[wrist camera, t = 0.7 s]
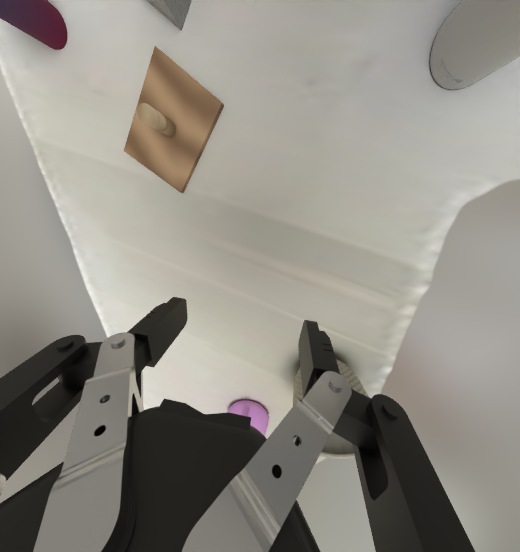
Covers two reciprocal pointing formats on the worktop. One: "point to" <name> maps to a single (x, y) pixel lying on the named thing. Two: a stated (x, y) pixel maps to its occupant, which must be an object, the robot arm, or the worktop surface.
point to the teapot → (252, 413)
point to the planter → (335, 443)
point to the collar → (173, 10)
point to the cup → (36, 20)
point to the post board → (182, 112)
